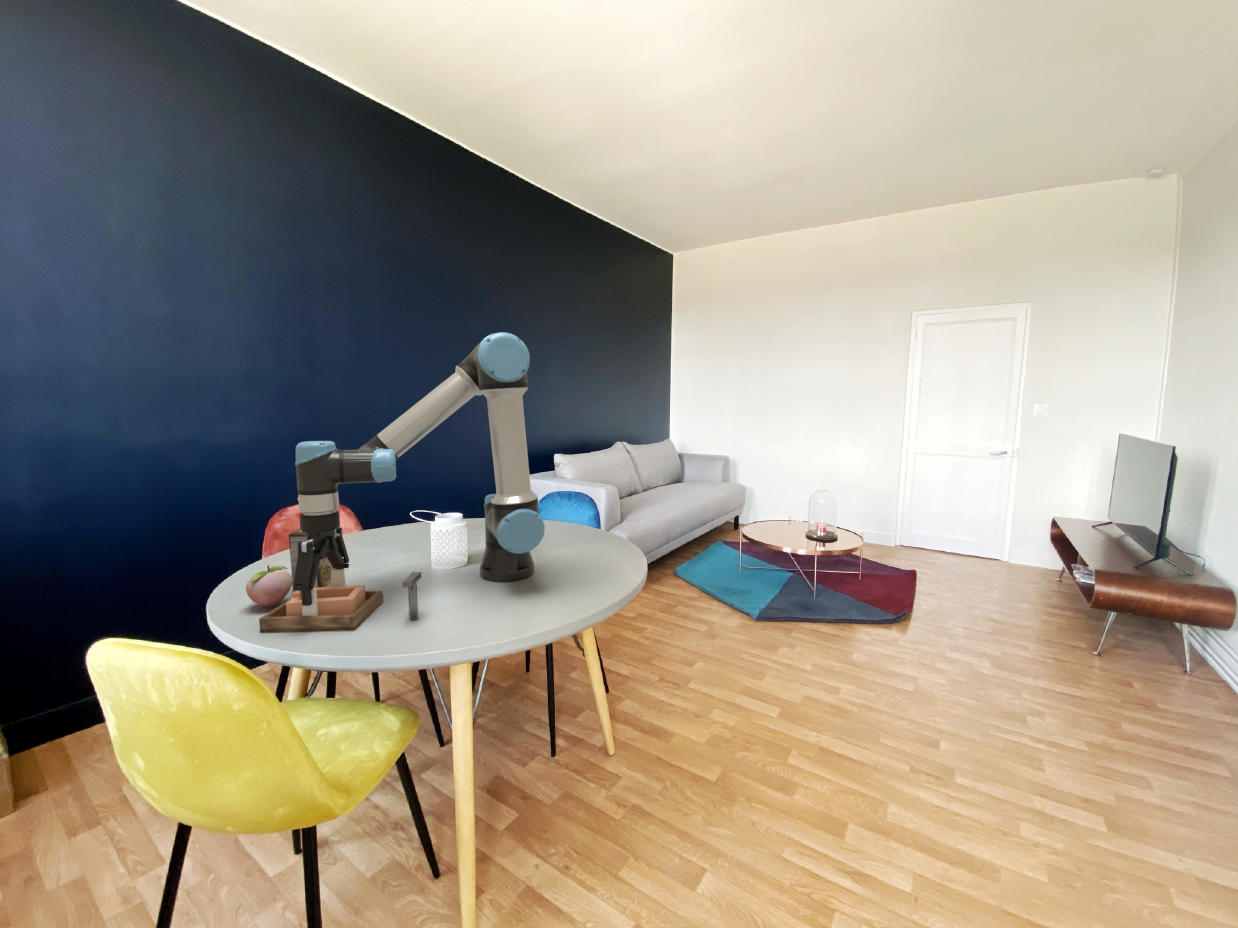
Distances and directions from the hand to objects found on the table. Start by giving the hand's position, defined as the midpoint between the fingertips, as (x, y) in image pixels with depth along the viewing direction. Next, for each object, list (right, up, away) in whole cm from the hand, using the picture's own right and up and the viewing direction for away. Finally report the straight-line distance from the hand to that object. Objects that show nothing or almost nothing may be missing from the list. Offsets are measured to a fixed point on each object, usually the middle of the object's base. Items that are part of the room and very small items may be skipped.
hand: (325, 606), depth 110 cm
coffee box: (-12, -1, +16) cm, 20 cm away
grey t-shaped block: (+20, -2, -1) cm, 20 cm away
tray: (0, -2, 0) cm, 2 cm away
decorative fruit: (-16, -2, +6) cm, 17 cm away
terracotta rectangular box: (0, -1, 0) cm, 2 cm away
